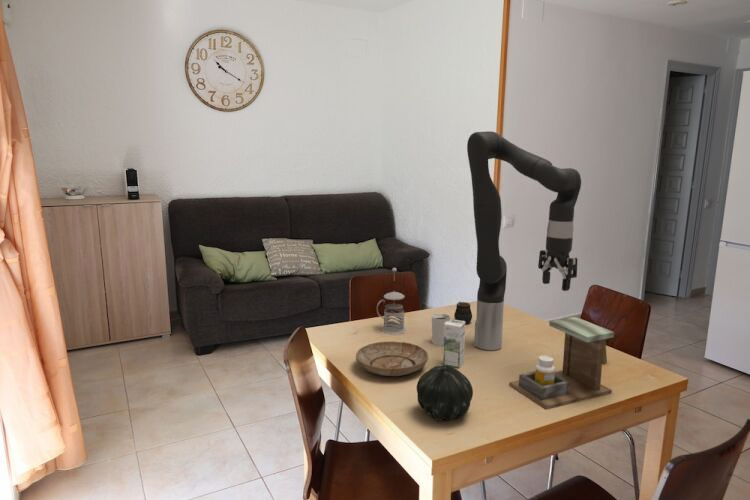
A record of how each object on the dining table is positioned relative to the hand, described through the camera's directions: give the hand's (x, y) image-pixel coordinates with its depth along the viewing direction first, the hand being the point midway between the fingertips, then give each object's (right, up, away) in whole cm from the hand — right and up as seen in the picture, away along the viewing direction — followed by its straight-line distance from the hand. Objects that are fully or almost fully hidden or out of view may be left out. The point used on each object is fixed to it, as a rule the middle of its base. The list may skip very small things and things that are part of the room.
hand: (555, 286), depth 161 cm
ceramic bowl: (-50, -27, +9) cm, 58 cm away
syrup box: (-30, -26, +11) cm, 41 cm away
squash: (-37, -33, -21) cm, 53 cm away
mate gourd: (-20, -18, +52) cm, 58 cm away
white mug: (-32, -23, +30) cm, 49 cm away
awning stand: (0, -30, -7) cm, 30 cm away
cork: (+19, -26, +13) cm, 34 cm away
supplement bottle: (-7, -29, -10) cm, 32 cm away
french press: (-49, -20, +43) cm, 68 cm away
